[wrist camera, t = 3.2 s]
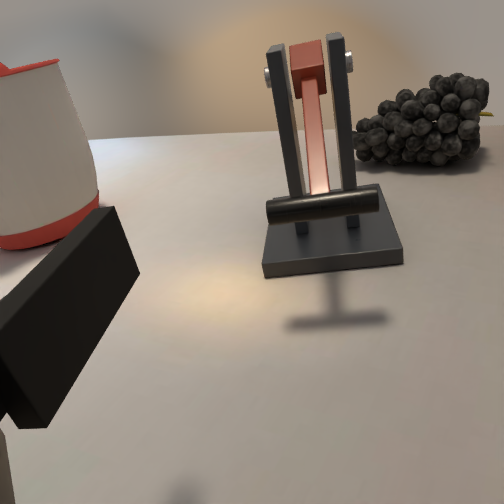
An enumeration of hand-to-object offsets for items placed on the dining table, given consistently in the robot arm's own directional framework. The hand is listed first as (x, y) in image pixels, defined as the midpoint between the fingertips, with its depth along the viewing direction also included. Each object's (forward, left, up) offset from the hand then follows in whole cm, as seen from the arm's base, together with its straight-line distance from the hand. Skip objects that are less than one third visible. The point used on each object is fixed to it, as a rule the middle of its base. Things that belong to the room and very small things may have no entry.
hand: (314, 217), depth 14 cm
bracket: (+4, -20, -11) cm, 23 cm away
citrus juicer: (+36, -23, -12) cm, 45 cm away
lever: (+3, -15, -2) cm, 16 cm away
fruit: (-3, -36, -12) cm, 38 cm away
